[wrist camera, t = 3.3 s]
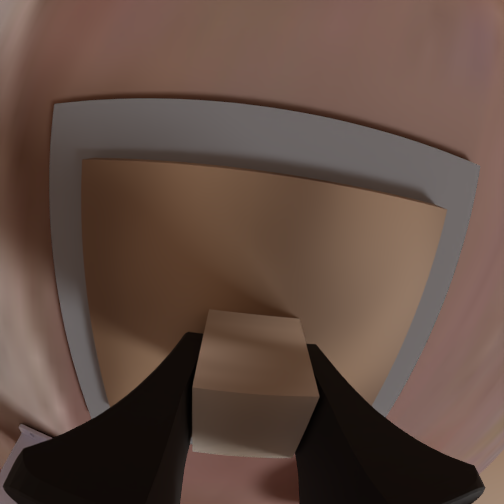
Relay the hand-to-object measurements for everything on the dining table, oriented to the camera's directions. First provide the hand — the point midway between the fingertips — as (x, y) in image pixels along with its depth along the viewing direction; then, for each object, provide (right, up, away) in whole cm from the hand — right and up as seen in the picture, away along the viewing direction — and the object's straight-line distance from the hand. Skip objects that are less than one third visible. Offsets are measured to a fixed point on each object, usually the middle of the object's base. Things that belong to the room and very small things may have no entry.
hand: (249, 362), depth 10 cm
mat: (0, +1, +2) cm, 2 cm away
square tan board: (0, +1, +1) cm, 2 cm away
